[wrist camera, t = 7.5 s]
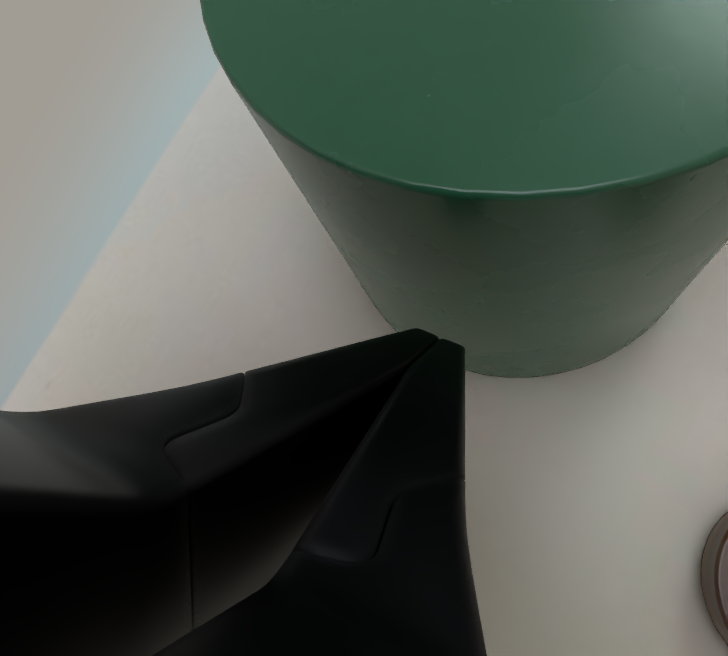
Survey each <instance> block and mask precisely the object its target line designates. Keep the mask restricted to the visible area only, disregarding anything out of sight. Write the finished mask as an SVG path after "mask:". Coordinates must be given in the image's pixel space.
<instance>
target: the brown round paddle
mask: <svg viewBox="0 0 728 656" xmlns="http://www.w3.org/2000/svg"><path fill="white" fill-rule="evenodd" d="M701 578H702V587H703V593H704V597H705V601H706V605H707V607H708V610H709V613H710V616H711V618H712V620H713V622H714V624H715V626H716V628H717V630H718V631H719V633H720V634H721V636H722V637H723V639H724V640H725V642H726V643H727V645H728V512H727V513H726V514H725V515H724V516H723V517H722V518H721V519H720V520H719V522H718V523H717V524H716V526H715V527H714V529H713V530H712V532H711V534H710V536H709V538H708V540H707V543H706V546H705V549H704V553H703V559H702V571H701Z"/></svg>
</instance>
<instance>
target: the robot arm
mask: <svg viewBox="0 0 728 656" xmlns="http://www.w3.org/2000/svg"><path fill="white" fill-rule="evenodd" d="M464 480H465V348H464V347H463V346H462V345H460V344H457V343H455V342H452V341H450V340H447V339H444V338H442V339H439V338H438V336H436V335H434V334H432V333H429V332H427V331H424V330H422V329H419V328H413V329H409V330H405V331H401V332H397V333H393V334H389V335H386V336H382V337H378V338H374V339H370V340H366V341H362V342H358V343H355V344H351V345H347V346H343V347H339V348H335V349H331V350H327V351H324V352H320V353H316V354H312V355H308V356H304V357H300V358H296V359H293V360H289V361H285V362H281V363H277V364H273V365H269V366H265V367H261V368H258V369H254V370H250V371H247V372H245V376H244V374H243V373H238V374H234V375H230V376H226V377H222V378H218V379H214V380H210V381H205V382H201V383H197V384H193V385H188V386H184V387H178V388H173V389H168V390H163V391H158V392H152V393H147V394H141V395H136V396H130V397H124V398H118V399H113V400H107V401H101V402H95V403H90V404H84V405H78V406H72V407H67V408H61V409H55V410H47V411H39V412H9V411H0V656H487V655H486V649H485V643H484V637H483V632H482V626H481V620H480V614H479V609H478V603H477V597H476V591H475V585H474V580H473V574H472V568H471V561H470V553H469V545H468V538H467V527H466V506H465V481H464Z"/></svg>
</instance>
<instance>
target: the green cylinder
mask: <svg viewBox="0 0 728 656" xmlns="http://www.w3.org/2000/svg"><path fill="white" fill-rule="evenodd" d="M200 3H201V9H202V15H203V21H204V24H205V27H206V30H207V33H208V36H209V39H210V42H211V45H212V48H213V51H214V53H215V55H216V57H217V59H218V60H219V62H220V64H221V66H222V68H223V69H224V71H225V73H226V75H227V77H228V78H229V80H230V82H231V84H232V85H233V87H234V88H235V90H236V91H237V93H238V94H239V96H240V98H241V99H242V101H243V102H244V104H245V105H246V107H247V108H248V110H249V112H250V113H251V115H252V116H253V118H254V119H255V121H256V122H257V124H258V125H259V127H260V129H261V130H262V132H263V133H264V135H265V136H266V138H267V139H268V141H269V143H270V144H271V146H272V147H273V149H274V150H275V152H276V153H277V155H278V156H279V158H280V160H281V161H282V163H283V164H284V166H285V167H286V169H287V170H288V172H289V173H290V175H291V177H292V178H293V180H294V181H295V183H296V184H297V186H298V187H299V189H300V191H301V192H302V194H303V195H304V197H305V198H306V200H307V201H308V203H309V204H310V206H311V208H312V209H313V211H314V212H315V214H316V215H317V217H318V218H319V220H320V221H321V223H322V225H323V226H324V228H325V229H326V231H327V232H328V234H329V235H330V237H331V239H332V240H333V242H334V243H335V245H336V246H337V248H338V249H339V251H340V252H341V254H342V256H343V257H344V259H345V260H346V262H347V263H348V265H349V266H350V268H351V270H352V271H353V273H354V274H355V276H356V277H357V279H358V280H359V282H360V283H361V285H362V287H363V288H364V290H365V291H366V293H367V294H368V296H369V297H370V299H371V300H372V302H373V304H374V305H375V307H376V308H377V309H378V310H379V312H380V313H381V314H382V316H383V317H384V318H385V320H386V321H387V322H388V323H389V324H390V325H391V326H392V327H393V328H394V329H395V330H396V331H397V332H401V331H405V330H409V329H413V328H419V329H422V330H424V331H427V332H429V333H432V334H434V335H436V336H438V338H439V339H442V338H444V339H447V340H450V341H452V342H455V343H457V344H460V345H462V346H463V347H464V348H465V370H468V371H472V372H476V373H480V374H485V375H493V376H502V377H537V376H544V375H552V374H558V373H562V372H566V371H570V370H574V369H577V368H581V367H584V366H586V365H589V364H591V363H594V362H596V361H599V360H601V359H604V358H606V357H607V356H609V355H611V354H613V353H615V352H616V351H618V350H620V349H622V348H623V347H625V346H627V345H628V344H629V343H631V342H632V341H633V340H635V339H636V338H637V337H639V336H640V335H641V334H643V333H644V332H645V331H646V330H647V329H648V328H649V327H650V326H651V325H652V324H653V323H654V322H655V321H656V320H657V319H658V318H659V317H660V316H661V315H662V314H663V313H664V312H665V311H666V310H667V309H668V308H669V306H670V305H671V304H672V303H673V302H674V301H675V300H676V299H677V297H678V296H679V295H680V294H681V293H682V292H683V291H684V290H685V288H686V287H687V286H688V285H689V284H690V283H691V282H692V280H693V279H694V278H695V277H696V276H697V275H698V274H699V273H700V271H701V270H702V269H703V268H704V267H705V266H706V265H707V264H708V262H709V261H710V260H711V259H712V258H713V257H714V256H715V254H716V253H717V252H718V251H719V250H720V249H721V248H722V247H723V245H724V244H725V243H726V242H727V241H728V0H200Z"/></svg>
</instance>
